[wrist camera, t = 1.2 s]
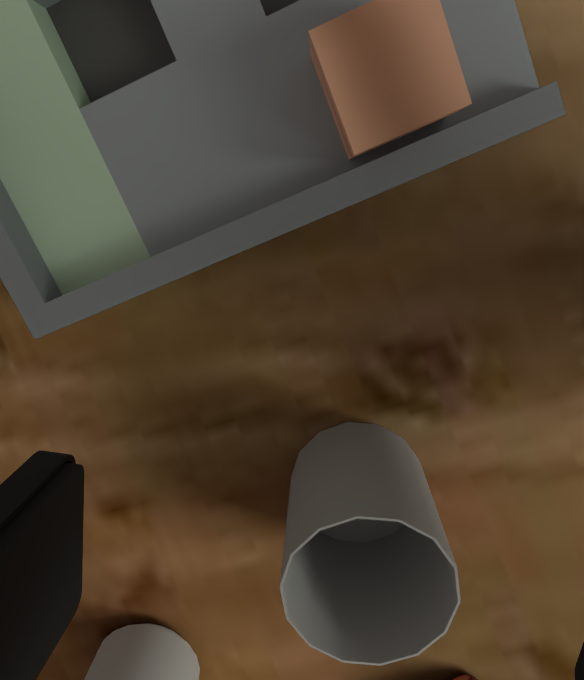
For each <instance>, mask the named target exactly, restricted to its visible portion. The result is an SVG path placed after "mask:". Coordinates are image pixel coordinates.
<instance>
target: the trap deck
mask: <svg viewBox="0 0 584 680" xmlns="http://www.w3.org/2000/svg"><path fill="white" fill-rule="evenodd" d="M370 1H372V0H0V278H1V280H2V282H3V284H4V285H5V287H6V289H7V291H8V293H9V294H10V296H11V298H12V300H13V302H14V303H15V305H16V307H17V309H18V311H19V312H20V314H21V316H22V318H23V319H24V321H25V323H26V325H27V327H28V328H29V330H30V332H31V334H32V336H33V337H34V339H37V338H40V337H42V336H44V335H47V334H49V333H52V332H54V331H56V330H59V329H61V328H63V327H66V326H68V325H70V324H73V323H75V322H77V321H80V320H82V319H85V318H87V317H89V316H92V315H94V314H96V313H99V312H101V311H103V310H106V309H108V308H110V307H113V306H115V305H118V304H120V303H122V302H125V301H127V300H129V299H132V298H134V297H136V296H139V295H141V294H144V293H146V292H148V291H151V290H153V289H155V288H158V287H160V286H162V285H165V284H167V283H169V282H172V281H174V280H177V279H179V278H181V277H184V276H186V275H188V274H191V273H193V272H195V271H198V270H200V269H202V268H205V267H207V266H210V265H212V264H214V263H217V262H219V261H221V260H224V259H226V258H228V257H231V256H233V255H236V254H238V253H240V252H243V251H245V250H247V249H250V248H252V247H254V246H257V245H259V244H261V243H264V242H266V241H269V240H271V239H273V238H276V237H278V236H280V235H283V234H285V233H287V232H290V231H292V230H294V229H297V228H299V227H302V226H304V225H306V224H309V223H311V222H313V221H316V220H318V219H320V218H323V217H325V216H328V215H330V214H332V213H335V212H337V211H339V210H342V209H344V208H346V207H349V206H351V205H353V204H356V203H358V202H361V201H363V200H365V199H368V198H370V197H372V196H375V195H377V194H379V193H382V192H384V191H386V190H389V189H391V188H394V187H396V186H398V185H401V184H403V183H405V182H408V181H410V180H412V179H415V178H417V177H420V176H422V175H424V174H427V173H429V172H431V171H434V170H436V169H438V168H441V167H443V166H445V165H448V164H450V163H453V162H455V161H457V160H460V159H462V158H464V157H467V156H469V155H471V154H474V153H476V152H478V151H481V150H483V149H486V148H488V147H490V146H493V145H495V144H497V143H500V142H502V141H504V140H507V139H509V138H512V137H514V136H516V135H519V134H521V133H523V132H526V131H528V130H530V129H533V128H535V127H537V126H540V125H542V124H545V123H547V122H549V121H552V120H554V119H556V118H559V117H561V116H563V115H566V113H565V109H564V105H563V102H562V98H561V94H560V91H559V87H558V83H557V81H555V82H553V83H550V84H548V85H546V86H544V87H541V88H539V85H538V81H537V77H536V74H535V70H534V67H533V63H532V60H531V56H530V53H529V49H528V45H527V42H526V38H525V35H524V31H523V28H522V24H521V21H520V17H519V13H518V10H517V6H516V3H515V0H440V2H441V6H442V9H443V12H444V15H445V18H446V22H447V25H448V28H449V31H450V34H451V38H452V41H453V44H454V47H455V50H456V54H457V57H458V60H459V63H460V66H461V70H462V73H463V76H464V79H465V82H466V86H467V89H468V92H469V95H470V98H471V102H472V104H470V105H469V106H467V107H465V108H463V109H461V110H459V111H457V112H455V113H453V114H451V115H449V116H447V117H446V118H443V119H441V120H439V121H436V122H434V123H432V124H430V125H427V126H425V127H423V128H420V129H418V130H416V131H414V132H411V133H409V134H407V135H404V136H402V137H400V138H398V139H395V140H393V141H391V142H388V143H386V144H384V145H382V146H379V147H377V148H375V149H373V150H370V151H368V152H366V153H363V154H361V155H359V156H357V157H354V158H352V159H350V160H349V159H348V157H347V154H346V151H345V149H344V146H343V143H342V141H341V138H340V135H339V133H338V130H337V127H336V125H335V122H334V119H333V117H332V114H331V111H330V109H329V106H328V103H327V101H326V98H325V95H324V93H323V90H322V87H321V85H320V82H319V79H318V77H317V74H316V71H315V69H314V66H313V63H312V61H311V55H310V44H309V32H308V31H310V30H312V29H314V28H316V27H318V26H320V25H322V24H324V23H326V22H328V21H330V20H332V19H335V18H337V17H339V16H341V15H343V14H345V13H347V12H349V11H351V10H353V9H355V8H357V7H359V6H362V5H364V4H366V3H368V2H370Z"/></svg>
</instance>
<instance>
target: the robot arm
mask: <svg viewBox="0 0 584 680" xmlns="http://www.w3.org/2000/svg"><path fill="white" fill-rule="evenodd" d="M83 505H84V469H83V466H82V465H79V464H76V463H75V459H74V457H73V456H72V455H69V454H62V453H55V452H49V451H38V452H36V453H35V454H34V455H32V456H31V457H30V458H29V459H28V460H27V461H26V462H25V463H24V464H23V465H22V466H20V467H19V468H18V469H17V470H16V471H15V472H14V473H13V474H12V475H11V476H10V477H8V478H7V479H6V480H5V481H4V482H3V483H2V484H1V485H0V680H36V678H37V677H38V675H39V673H40V672H41V670H42V668H43V667H44V665H45V663H46V662H47V660H48V658H49V656H50V655H51V653H52V651H53V650H54V648H55V646H56V645H57V643H58V641H59V640H60V638H61V636H62V635H63V633H64V631H65V629H66V628H67V626H68V624H69V623H70V621H71V619H72V618H73V616H74V614H75V612H76V610H77V608H78V605H79V602H80V598H81V593H82V559H83ZM575 680H584V643H583V646H582V649H581V651H580V654H579V657H578V660H577V663H576V667H575Z"/></svg>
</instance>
